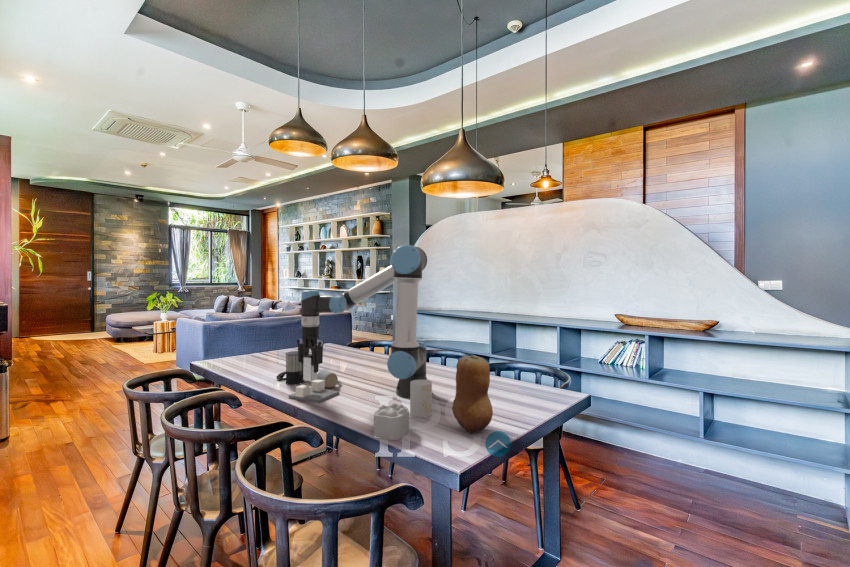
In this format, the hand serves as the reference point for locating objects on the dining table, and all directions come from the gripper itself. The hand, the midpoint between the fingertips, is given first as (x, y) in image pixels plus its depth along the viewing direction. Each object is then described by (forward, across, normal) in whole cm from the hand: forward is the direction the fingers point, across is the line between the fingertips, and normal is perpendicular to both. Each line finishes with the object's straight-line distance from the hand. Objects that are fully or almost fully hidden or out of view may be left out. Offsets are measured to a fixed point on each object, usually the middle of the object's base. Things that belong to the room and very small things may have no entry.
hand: (310, 378), depth 181 cm
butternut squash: (+7, +77, -9) cm, 78 cm away
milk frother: (+8, -25, +15) cm, 30 cm away
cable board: (+7, +2, 0) cm, 8 cm away
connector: (0, 0, 0) cm, 0 cm away
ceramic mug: (+8, -2, +16) cm, 18 cm away
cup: (+7, +54, -1) cm, 55 cm away
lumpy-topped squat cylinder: (+7, +54, -21) cm, 58 cm away
